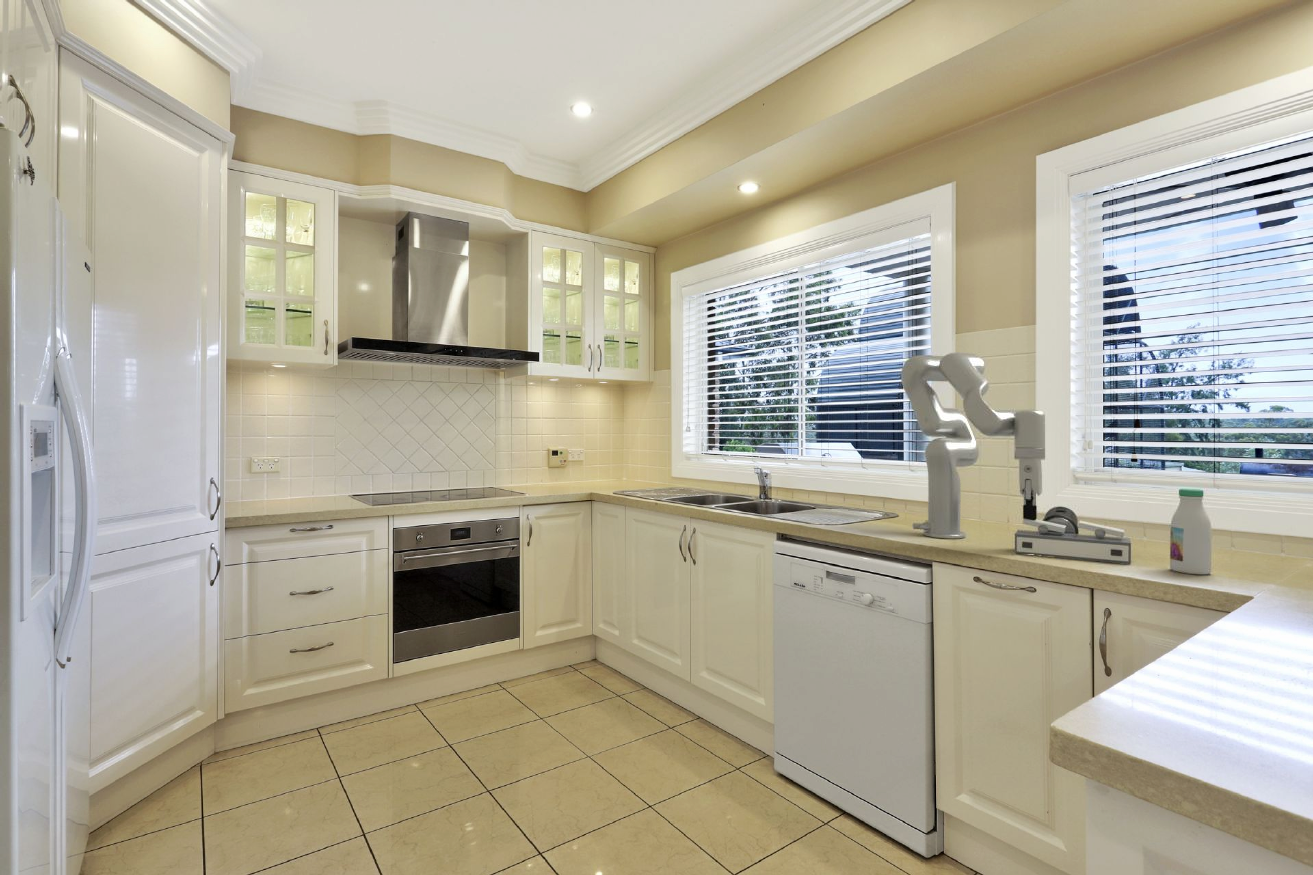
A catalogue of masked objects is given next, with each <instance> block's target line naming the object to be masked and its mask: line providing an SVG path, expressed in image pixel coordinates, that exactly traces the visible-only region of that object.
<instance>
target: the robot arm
mask: <svg viewBox="0 0 1313 875" xmlns="http://www.w3.org/2000/svg"><path fill="white" fill-rule="evenodd" d="M985 368H986V365H985V362H984V360H983V359H982V357H980V356H979V355H978V354H975V353H968V352H967V353H965V352H951V353H950V352H949V353H948V354H945V355H944V356H943V355H931V354H930V355H929V354H927V355H926V354H921V355H918V354H917V355H913V356H911V357H909V358H908V359H907V360H906V361H905V362H904V363H903V365H902V368H901V371H900V372H901V373H900V379H901V381H900V382H901V384H902V387H903V390H904V392H905V394H906V396H907V397H908V400H909V402H910V405H911V407H912V410H913V413H914V416H915V419H916V421H917V424H918V426H919V429H920V431H921V433H922V434H923V435H925V437H932V438H933V437H935V439H932V440H931V441H930V442H928V444H927V445H926V447H925V450H924V458H925V462H926V467H927V480H928V482H927V484H928V485H927V487H928V488H927V489H928V490H927V491H928V496H927V498H928V499H927V500H928V501H927V502H928V507H927V509H928V511H927V513H928V514H927V515H928V518H927V519H928V520H927V519H926V520H925V521H923V522H922V523H919V522H913V523H912V529H913V530H922V534H923V535H924V536H926V537H931V538H937V539H949V540H950V539H952V540H954V539H964V538H965V537H967V536H966V535H967V534H966V532H964V531H961V477H960V475H959V472H958V470H957V468H961V467H962V468H964V467H970V466H973V465H974V464H975V463H976V462H977V461H978V459H979V455H980V450H979V446H978V443H977V440H976V438H975V436H974V435H975V434H974V433H973V430H972V427H971V425H970V423H971V424H972V425H973V426H974V428H975V429H976V430H977V431H978V432H980V434H983V435H984V436H987V437H1014V447H1013V448H1014V451H1013V452H1014V453H1013V455H1014V460H1018V478H1019V479H1018V480H1019V481H1018V482H1019V483H1018V484H1019V493H1020V495H1022V496H1023V505H1022V519H1029V520H1036V519H1037V518H1038V516H1037V514H1038V513H1037V512H1038V511H1037V510H1038V508H1037V507H1038V505H1036V504H1037V496H1040V495H1042V493H1043V473H1042V472H1043V470H1042V461H1045V460H1046V414H1045V413H1044V411H1042V410H1035V409H1033V410H1032V409H1031V410H1030V409H1029V410H1028V409H1027V410H1025V409H1023V410H1001V409H999V410H997V409H995V410H993V408H991V406H990V405H989V404H988V403H987V402H986V401H985V400H984V399H983V397H984V396H985V395H986V394H987V392H988V390H989V389H990V384H989V383H990V382H989V381H988V380H987V379H986V378H985V377H984V376H983V375H984V373H985V370H986V369H985ZM928 382H948V383H949V384H950V386H952V387H953V388H954V390H955V391H956V392H957V393H958V395H959V396H960V397H962V400H963V401H962V406H963V407H962V408H963V412H964V413H963V412H962V411H961V410H959V409H957V408H953V407H952V408H951V407H949V408H948V407H943V406H942V404H941V402H940V399H939V396H938V394H937V393H936V391H935V389H933V387H932V386H931V385H930V384H929V383H928ZM969 422H970V423H969ZM937 437H938V438H937ZM1037 520H1038V519H1037Z"/></svg>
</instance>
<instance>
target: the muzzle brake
mask: <svg viewBox="0 0 1313 875" xmlns="http://www.w3.org/2000/svg"><path fill="white" fill-rule="evenodd" d="M1041 521H1046V522H1051V523H1055V524H1060V525H1065V526H1066V528H1065V532H1064V533H1069V534H1079V531H1080V530H1079V528H1078V525H1079V522H1078V517H1077V514H1076V513H1075V512H1074V511H1073V509H1071V508H1068V507H1065V506H1060V505H1059V506H1053V507H1052V508H1050V509H1049V510H1048V511H1047V512H1046V513H1045V515H1044V517H1043V519H1042V520H1041ZM1047 532H1055V533H1062V532H1057V531H1052V530H1048V531H1047Z"/></svg>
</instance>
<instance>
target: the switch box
mask: <svg viewBox="0 0 1313 875" xmlns="http://www.w3.org/2000/svg"><path fill="white" fill-rule="evenodd" d="M1015 553H1019V554H1018V555H1023V554H1034V555H1041V556H1040V557H1044V556H1054V557H1053V558H1055V557H1059V558H1058V559H1065V558H1066V559H1067V560H1068V559H1069V560H1076V559H1081V560H1080V561H1087V560H1089V561H1090V562H1097V561H1102V562H1101V563H1108V562H1109V563H1110V564H1119V563H1123V564H1122V565H1129V564H1131V565H1132V561H1131V560H1132V542H1131V538H1130V537H1118V536H1106V535H1105V536H1104V537H1103V538H1098V537H1096V536H1095V534H1094V535H1093V534H1092V535H1091V534H1079V533H1078V534H1069V533H1055V532H1046V533H1040V532H1039V531H1038V530H1029V529H1027V530H1026V529H1017V531H1015V533H1014V554H1015Z"/></svg>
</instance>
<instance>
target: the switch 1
mask: <svg viewBox="0 0 1313 875" xmlns="http://www.w3.org/2000/svg"><path fill="white" fill-rule="evenodd" d="M1022 519H1023V518H1022ZM1022 525H1024V526H1025V525H1027V526H1030V527H1035V528H1037V531H1039V532H1040V533H1046V532H1047V531H1048V530H1052V531H1057V532H1062V533H1064V532H1065V528H1066V526H1065V525H1060V524H1055V523H1051V522H1046V521H1042V520H1041V519H1036V520H1029V519H1023V520H1022Z"/></svg>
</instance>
